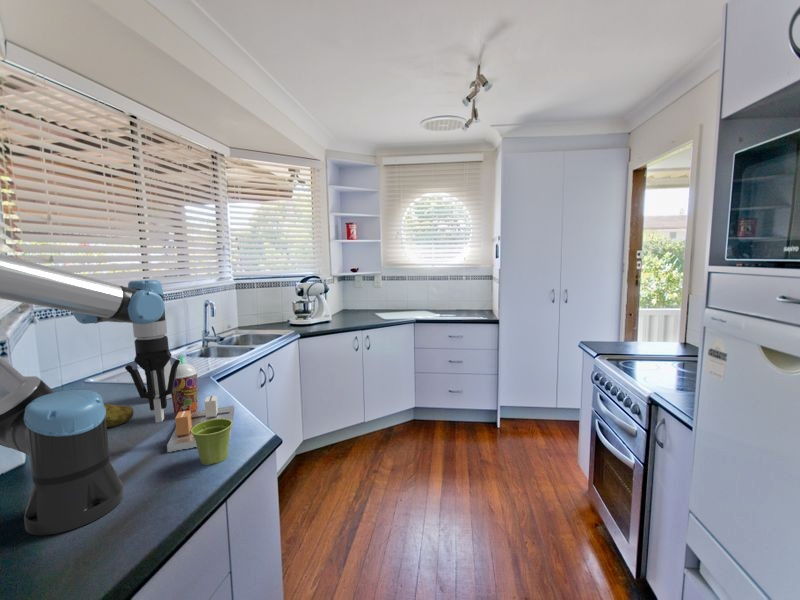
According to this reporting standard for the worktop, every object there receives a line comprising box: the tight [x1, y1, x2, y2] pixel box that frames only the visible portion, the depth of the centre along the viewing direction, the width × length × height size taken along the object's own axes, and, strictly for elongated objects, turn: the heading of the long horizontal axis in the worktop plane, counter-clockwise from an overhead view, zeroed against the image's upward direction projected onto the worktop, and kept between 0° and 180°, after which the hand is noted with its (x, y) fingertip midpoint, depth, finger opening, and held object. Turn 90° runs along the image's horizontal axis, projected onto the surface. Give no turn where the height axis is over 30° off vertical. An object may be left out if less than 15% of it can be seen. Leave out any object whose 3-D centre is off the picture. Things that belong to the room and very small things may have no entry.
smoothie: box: [168, 354, 198, 416], centre depth 125 cm, size 8×8×20 cm
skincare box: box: [153, 360, 172, 400], centre depth 142 cm, size 8×7×16 cm
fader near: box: [174, 410, 192, 436], centre depth 106 cm, size 3×5×5 cm, turn 21°
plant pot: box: [191, 419, 233, 466], centre depth 94 cm, size 9×9×9 cm
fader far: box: [204, 395, 219, 418], centre depth 118 cm, size 3×5×5 cm, turn 21°
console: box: [166, 405, 235, 453], centre depth 112 cm, size 15×24×2 cm, turn 21°
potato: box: [103, 402, 134, 428], centre depth 117 cm, size 8×13×8 cm, turn 131°
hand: (160, 420), depth 104 cm, fingers closed
